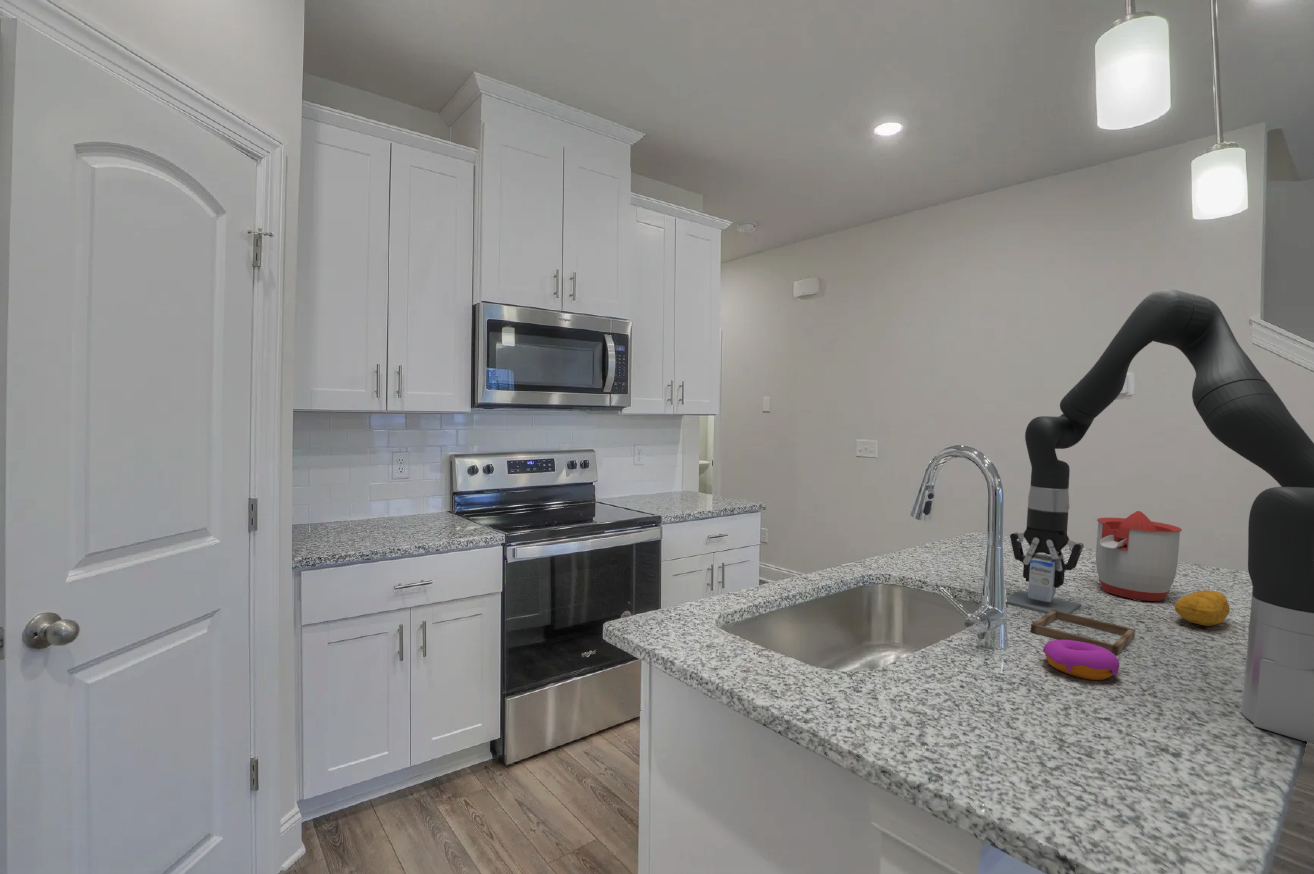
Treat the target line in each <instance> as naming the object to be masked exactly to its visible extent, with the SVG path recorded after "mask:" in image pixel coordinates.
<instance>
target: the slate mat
mask: <svg viewBox="0 0 1314 874" xmlns="http://www.w3.org/2000/svg"><path fill="white" fill-rule="evenodd" d="M1006 598H1007V605H1010V606H1013V607H1018V608H1019V607H1020V608H1023V609H1026V610H1030V611H1035V612H1039V613H1043V614H1045V615H1046V614H1047V613H1049V612H1050V611H1052V610H1057V611H1061V612H1065V613H1069V614H1073V612H1075V611H1076V610H1078V608H1080V607H1082V603H1080V602H1079V603H1078V602H1074V601H1069V600H1065V599H1061V598H1056V597H1053V599H1052V601H1051V602H1045V601H1040V600H1035V599H1030V598H1028V591H1026V590H1022V589H1020V590H1018V591H1016V592H1014V593H1012V594H1010V595H1009V596H1007V597H1006Z"/></svg>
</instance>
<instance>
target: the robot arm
mask: <svg viewBox="0 0 1314 874" xmlns="http://www.w3.org/2000/svg"><path fill="white" fill-rule="evenodd" d="M1152 342H1154V343H1160V344H1162V345H1163V344H1164V345H1167V346H1172V347H1174V348H1176V349H1178V350H1179V351H1180V352H1181V353H1183V354H1184V356H1185V357H1186V358H1187V360H1188V361H1189V363H1190V364H1191V366H1192V368H1193V370H1194V372H1195V378H1194V382H1193V386H1192V391H1191V397H1192V398H1191V399H1192V403H1193V405H1194V407H1195V409H1196V412H1197V413H1198V415H1199V416H1200V418H1201V420H1202V422H1203V423H1204V425H1205V426H1206V427H1207V429H1208V430H1209V432H1210V433H1211V434H1212V435H1213V436H1214V437H1215V438H1216V439H1217V440H1218V441H1219V442H1220V443H1222V444H1223V445H1224V446H1225V447H1227V448H1229V449H1230V450H1232V451H1233V452H1234V453H1236V454H1238V455H1239V456H1241V457H1242V458H1244V459H1245V460H1247V461H1249V462H1250V463H1251V464H1254V465H1255V466H1257V467H1258V468H1260V469H1261V470H1263V471H1264V472H1266V473H1267V474H1268V475H1269V476H1270V477H1272V479H1274V480H1275V481H1276V483H1278V485H1279V486H1274V487H1270V488H1267V489H1266V488H1265V489H1264V490H1262V491H1261V492H1260V493H1259V494H1257V496H1256V497H1255V498H1254V501H1253V502H1252V504H1251V507H1250V511H1249V517H1248V529H1247V533H1248V537H1247V538H1248V541H1247V542H1248V544H1247V545H1248V548H1247V570H1248V571H1247V572H1248V574H1249V578H1250V582H1251V584H1252V591H1251V595H1252V596H1251V603H1250V615H1249V624H1248V634H1247V635H1248V636H1247V647H1246V656H1245V657H1246V658H1245V667H1244V668H1245V669H1244V678H1243V679H1244V680H1243V690H1242V691H1243V692H1242V703H1241V704H1242V705H1241V713H1242V715H1243V717H1245V718H1246V719H1247V720H1249V721H1250V722H1252V723H1253V726H1254V727H1256V728H1260V729H1263V730H1267V731H1270V732H1273V733H1276V734H1279V735H1283V736H1286V737H1289V738H1293V739H1296V740H1299V741H1303V742H1305V741H1306V743H1308V744H1312V745H1314V442H1313V440H1312V439H1311V437H1309V435H1308V434H1307V433H1306V432H1305V430H1304V429H1303V427H1301V425H1300V423H1299V422H1298V421H1297V420H1296V419H1295V418H1294V417H1293V415H1292V414H1291V412H1290V410H1288V408H1287V407H1286V405H1285V403H1284V402H1283V400H1282V399H1281V398H1280V396H1279V394H1277V392H1276V391H1275V389H1274V388H1273V387H1272V385H1271V384H1270V383H1269V382H1268V380H1267V379H1266V377H1264V376H1263V375H1262V373H1261V372H1260V371H1259V369H1258V368H1257V367H1256V365H1255V364H1254V363H1253V361H1252V360H1251V358H1250V357H1249V356H1248V354H1247V353H1246V352H1245V351H1244V349H1243V348H1242V347H1241V345H1240V344H1239V342H1238V341H1237V339H1236V337H1235V335H1234V333H1233V331H1232V329H1231V327H1230V325H1229V323H1228V321H1227V319H1226V318H1225V316H1224V314H1223V311H1222V310H1221V309H1220V306H1218V305H1217V303H1216V302H1214V301H1212V300H1211V299H1209V298H1207V297H1204V296H1201V295H1197V294H1193V293H1189V292H1184V291H1181V290H1178V289H1171V288H1161V289H1158V290H1156V291H1153V292H1152V293H1150V294H1148V295H1147V296H1146V297H1144V298H1143V300H1141V302H1140V303H1138V304H1137V306H1136V307H1135V308H1134V310H1133V311H1132V312H1131V313H1130V315H1129V316H1128V318H1127V319H1126V320H1125V322H1123V324H1122V326H1121V327H1120V329H1119V330H1118V331H1117V333H1116V334H1115V335H1114V337H1113V339H1112V340H1111V341H1110V343H1109V344H1108V346H1107V347H1106V348H1105V350H1104V351H1103V353H1102V354H1101V356H1100V357H1099V358H1098V360H1097V361H1096V362H1095V364H1094V365H1093V366H1092V367H1091V368H1090V369H1089V371H1088V372H1087V373H1086V374H1085V375H1083V377H1082V378H1081V379H1080V380H1079V381H1078V382H1077V383H1076V384H1075V385H1074V386H1073V387H1072V388H1071V389H1070V390H1069V391H1068V392H1067V393H1066V394H1065V395H1064V396H1063V398H1062V399H1061V400H1060V402H1059V409H1060V411H1061V412H1062V414H1061V415H1059V416H1050V415H1049V416H1047V415H1046V416H1045V415H1043V416H1042V415H1040V416H1036V417H1034V418H1033V419H1031V420H1030V421H1029V423H1028V424H1027V427H1026V429H1025V432H1024V439H1025V440H1024V441H1025V445H1026V449H1027V453H1028V458H1029V462H1030V466H1031V474H1030V488H1029V491H1028V496H1027V515H1026V516H1027V517H1026V528H1025V531H1024V532H1020V533H1019V532H1013V533H1010V535H1009V537H1010V543H1011V547H1012V548H1011V549H1012V553H1013V557H1014V558H1013V559H1014V560H1016V561H1019V562H1021V563H1022V564H1023V569H1022V577H1023V578H1024V579H1025V582H1028V583H1029V573H1030V561H1031V559H1032V558H1033V557H1034V556H1035V555H1037V554H1044V555H1049V556H1051V557H1052V560H1053V561H1054V562H1055V567H1056V570H1055V576H1054V587H1055V588H1056V589H1059V588H1061V587H1062V586H1063V585H1064V584H1065V583H1064V582H1065V573H1066V571H1072V570H1074V569H1075V568H1076V567H1077V565H1078V562H1079V560H1080V557H1081V554H1082V551H1083V549H1084V546H1085V545H1084V543H1082V542H1077V541H1076V542H1075V541H1073V540H1070V537H1069V536H1068V524H1069V523H1068V522H1069V511H1070V510H1069V509H1070V494H1069V493H1070V492H1069V490H1070V489H1069V488H1070V475H1071V474H1070V472H1071V471H1070V465H1069V464H1068V463H1067V462H1066V461H1064V460H1061V459H1058V456H1057V452H1056V450H1057V449H1058V450H1059V449H1060V450H1063V449H1069V448H1072V447H1073V446H1076V445H1077V444H1079V442H1080V441H1081V440H1082V439H1083V438H1084V436H1085V435H1086V434H1087V432H1088V430H1089V429H1090V427H1091V425H1092V424H1093V422H1094V420H1095V419H1096V417H1098V416H1099V415H1100V414H1102V412H1104V411H1105V409H1107V408H1108V407H1109V406H1110V405H1111V404H1112V403H1113V402H1115V400H1116V399H1117V398H1118V397H1119V396H1120V394H1121V393H1122V391H1123V388H1124V387H1125V383H1126V380H1127V374H1128V371H1129V368H1130V365H1131V363H1132V361H1133V359H1134V358H1135V357H1136V356H1137V355H1138V354H1139V353H1140V352H1141V351H1142V350H1143V349H1144V348H1145V347H1147V346H1148V345H1150V344H1151V343H1152ZM1024 539H1025V540H1026V542H1027V544H1028V545H1029V548H1028V549H1027V551H1026V554H1024V549H1023V545H1022V543H1023V542H1024ZM1066 546H1068V550H1069V551H1070V552H1071V553H1070V555H1069V558H1068V560H1067V562H1066V563H1065V560H1064V554H1063V552H1062V550H1063V549H1064V548H1065V547H1066Z"/></svg>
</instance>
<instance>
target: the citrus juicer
mask: <svg viewBox="0 0 1314 874" xmlns="http://www.w3.org/2000/svg"><path fill="white" fill-rule="evenodd" d="M1096 521H1097V534H1096V536H1097V537H1096V546H1095V547H1096V548H1095V565H1096V572H1097V575H1098V581H1099V584H1100V586H1101V588H1102V590H1104V591H1105V592H1106V593H1110V594H1112V595H1115V596H1119V597H1124V598H1126V599H1128V598H1129V599H1131V600H1132V599H1135V600H1134V601H1136V600H1143V601H1150V602H1161V601H1163V600H1165V599H1166V597H1168V595H1169V593H1170V591H1171V588H1172V586H1173V584H1174V581H1175V578H1176V574H1177V568H1178V561H1179V560H1178V559H1179V549H1180V548H1179V547H1180V537H1181V532H1182V530H1183V529H1182V528H1181V527H1179V526H1176V525H1172V524H1167V523H1164V522H1163V523H1162V522H1158V521H1151V520H1150V518H1149V517H1148V516H1147V515H1146V514H1145V513H1144V512H1142V511H1139V510H1137V511H1135V512H1133V513H1132V514H1129V515H1128V516H1127V517H1099V518H1096Z"/></svg>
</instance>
